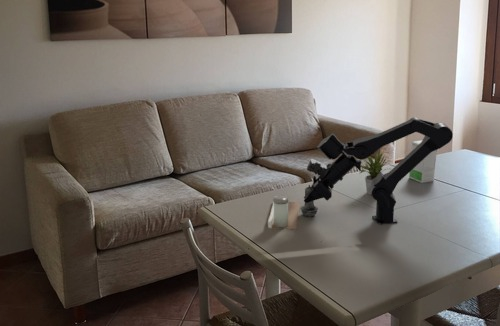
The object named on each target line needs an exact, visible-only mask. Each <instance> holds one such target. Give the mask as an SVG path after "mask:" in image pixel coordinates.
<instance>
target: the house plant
mask: <svg viewBox="0 0 500 326" xmlns="http://www.w3.org/2000/svg"><path fill="white" fill-rule="evenodd" d="M378 154H379V153H378V152H377V153H376V155H375V157H374V160H373V158H372V155H371V156H369V157H368V158H367V160H366V159H363V163H364V165H362V164H361V170H359V173H358V174H359V175H360V174H361V173H364V172H365V173H367V175H365V177H364V179H365V186H366V194H367V195H369V196H372V194H371V190H370V185H371V183H372V182H373V181H372V179H374V178H375V177H377V175H378V174H379V173H380V172H382V173H383V172H384V171H386V170H387V168H386V169H383V167H384V166H385V165H386V164H387V163H388V162H389V160H387V158H388V156H386V154H384V150H383V151H381V152H380V154H379V155H378ZM386 160H387V161H386Z"/></svg>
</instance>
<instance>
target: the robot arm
mask: <svg viewBox="0 0 500 326" xmlns="http://www.w3.org/2000/svg"><path fill="white" fill-rule="evenodd" d="M414 133H418V134H420V135H423V136H424V137H423V139H421V140H422V142H421V143H420V144H419V145H418V146H417V147H416V148H415V149H414V150H412V149H411V150H412V151H410V152H409V153H408V154H407V155H406V156H405V157H404V158H403V159H402V160H400V162H398V163H397V164H396V165H395V166H394V167H393V168H391V169H390V171H388V172H387V173H383V172H382V171H381V172H380V173H379V174H378V175H377V177H375V178H374V179H372V181H373V182H372V183H371V185H370V190H371V194H372V195H371V196H372V198H373V199H374V200H375V201H376V206H375V207H376V208H375V210H376V211H375V215H372V216H371V218H372V219H373V220H374V221H375V222H376V223H377V224H379V225H384V224H386V225H387V224H394V223H395V224H397V223H398V220H397V219H396V218H395V217H394V215H395V213H394V212H395V206H396V204H397V201H396V200H397V199H396V197H395V194H394V193H393V192H394V191H395V189H396V187H397V186H398V184H399V182H401V181H402V180H403V179H404V177H406V176H407V175H409V172H410V171H411V170H412V169H413V168H415V167H416V166H417V165H418V164H419V163H420V162H421V161H422V160H423V159H424V158H425V157H427V156H428V155H429V154H430V153H431V152H433V151H435V150H437V151H438V150H440V149H442V148H443V147H444V146H446V145H447V144H450V142H452V140H453V138H454V137H453V135H454V134H453V131H452V129H451V128H450V127H449V126H448V125H446V124H445V123H442V122H435V123H434V122H431V121H428V120H424V119H420V118H418V117H411V118H410V119H408V120H406V121H404V122H401V123H398V124H397V125H395V126H392V127H390V128H388V129H387V130H384V131H381V132H379V133H377V134H374V135H367V136H362V137H359V138H356V139H354V140H353V141H348V142H342V141H340V140H339V138H337V136H336V135H335V133H331V134H330V135H328V136H327V137H325V138H323V139H322V140H321V141H320V142H319V144H318V145H317V147H316V148H317V149H318V150H319V151H320V152H321V153H322V154H323V155H325V157H326V158H327V159H328V160H334V161H333V162H329V163H327V164H324V163H323V162H322V161H321V162H320V161H318V160H316V159H314V158H311V159H310V160H309V162H308V165H307V166H306V170H307V171H308V172H310V173H311V172H312V173H313V174H314V175H313V178H312V179H313V182H312V184H311V185H310V187H312V188H313V189H312V191H311V192H310V193H309V194H308V196H307V197H306V198H305V199H304V200H303V202H304V204H305V203H307V202H311V201H317V200H320V199H325V200H326V201H329V200H330V199H331V198H332V194H333V193H332V190H333V188H334V187H335V185H336V184H338V182H339V181H340V182H342V180H344V178H343V177H344V176H346V175H347V174H348V173H350V171H351V170H353V169H354V168H357V170H358V171H360V170H362V169H361V168H362V167H361V165H362V161H364V159H365V160H366V159H368V157H369V156H371V157H372V155H374V154H375V153H376V152H377V151H378V150H380V149H381V148H382V147H384V146H387V145H390V144H391V143H394V142H396V141H398V140H401V139H403V138H405V137H408V136H410V135H412V134H414ZM315 175H316V176H315ZM304 197H305V195H304V196H303V198H304Z"/></svg>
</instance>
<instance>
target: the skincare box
mask: <svg viewBox="0 0 500 326" xmlns="http://www.w3.org/2000/svg"><path fill="white" fill-rule="evenodd" d="M422 140H423V139H421V140H416V141H415V140H414V141H412V142H411V151H412V150H414V149H415V148H416V147H417V146H418V145H419V144H420V143H421V142H422ZM411 151H410V152H411ZM437 152H438V149H437V150H435V151H433V152H431V153H430V154H429V155H428V156H427V157H425V158H424V159H423V160H422V161H421V162H420V163H419V164H418V165H417V166H416V167H415V168H413V169H412V170H411V171H410V172H409V173H408V178H409V179H412V180H414V181H417V182H419V183H421V184H424V183H430V182H434V179H435V170H436V163H437Z"/></svg>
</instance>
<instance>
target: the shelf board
mask: <svg viewBox="0 0 500 326" xmlns="http://www.w3.org/2000/svg"><path fill="white" fill-rule="evenodd" d="M300 206H301V202H300V201H288V226H287V227H282V228H280V227H276V226H274V220H273V224H272V228H271V229H282V230H284V229H285V230H287V229H289V230H297V228H298V221H299V213H300V208H301V207H300Z"/></svg>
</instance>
